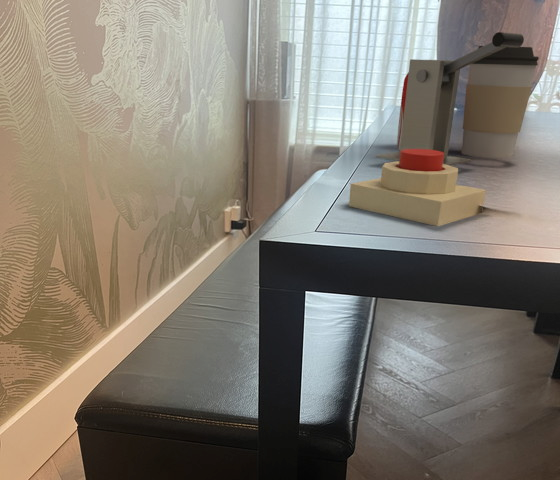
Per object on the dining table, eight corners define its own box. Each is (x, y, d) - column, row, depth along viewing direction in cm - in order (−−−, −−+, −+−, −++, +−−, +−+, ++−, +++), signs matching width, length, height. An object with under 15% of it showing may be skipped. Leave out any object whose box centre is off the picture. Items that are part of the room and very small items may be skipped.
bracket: (470, 168, 81) (487, 61, 75) (438, 175, 76) (454, 60, 70) (407, 158, 88) (419, 59, 82) (374, 164, 82) (384, 58, 76)
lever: (525, 48, 71) (522, 27, 70) (506, 47, 67) (501, 25, 67) (437, 89, 80) (432, 70, 79) (415, 90, 76) (411, 70, 76)
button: (449, 172, 57) (452, 152, 56) (426, 176, 55) (429, 156, 54) (413, 166, 60) (415, 147, 59) (389, 170, 57) (391, 151, 56)
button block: (482, 213, 58) (490, 170, 56) (437, 227, 53) (444, 179, 51) (395, 196, 64) (400, 156, 62) (348, 206, 59) (351, 164, 57)
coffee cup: (517, 168, 83) (542, 43, 76) (450, 162, 85) (468, 41, 78) (518, 159, 90) (541, 44, 83) (456, 154, 93) (473, 43, 86)
